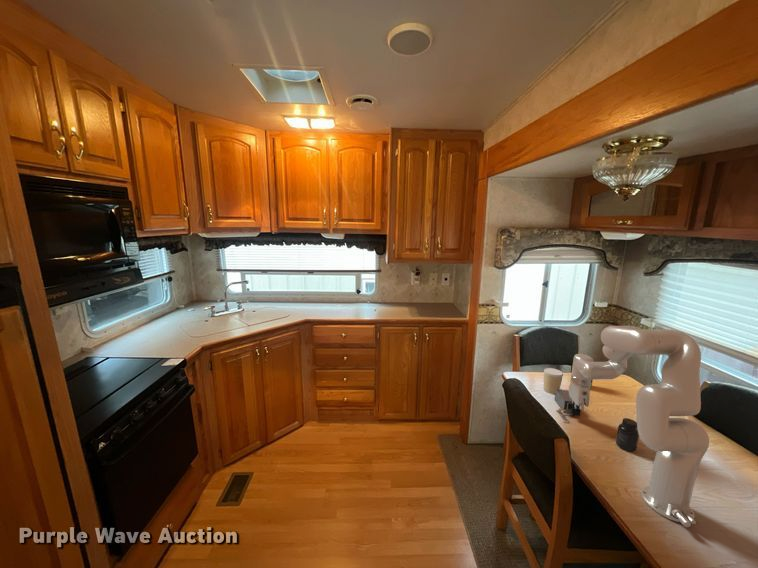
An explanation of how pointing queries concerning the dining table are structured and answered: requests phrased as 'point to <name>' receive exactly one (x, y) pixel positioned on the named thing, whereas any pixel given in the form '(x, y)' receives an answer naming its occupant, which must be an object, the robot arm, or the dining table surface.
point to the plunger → (568, 408)
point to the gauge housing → (562, 402)
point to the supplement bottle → (627, 435)
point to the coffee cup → (552, 380)
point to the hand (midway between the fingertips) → (575, 414)
